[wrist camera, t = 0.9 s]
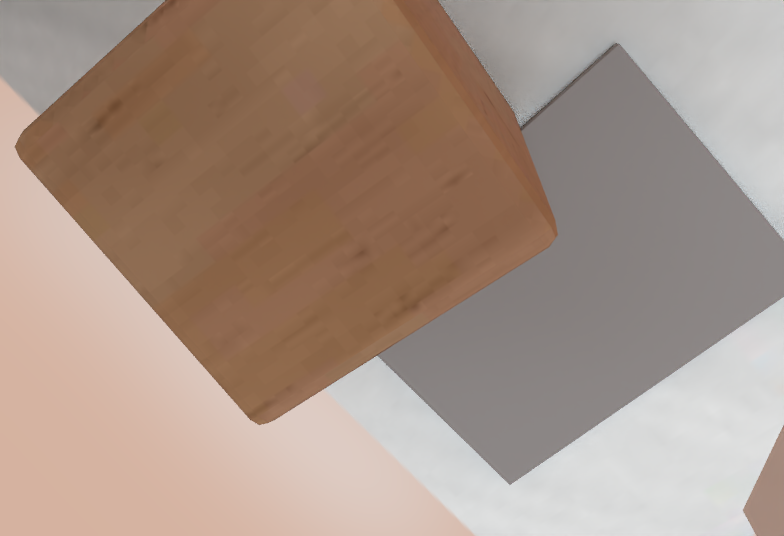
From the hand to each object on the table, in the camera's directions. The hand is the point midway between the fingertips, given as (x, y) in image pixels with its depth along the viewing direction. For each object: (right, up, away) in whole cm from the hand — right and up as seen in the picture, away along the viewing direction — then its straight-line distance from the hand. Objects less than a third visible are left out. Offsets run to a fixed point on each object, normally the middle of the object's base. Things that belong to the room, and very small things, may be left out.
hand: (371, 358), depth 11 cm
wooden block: (0, +10, +25) cm, 27 cm away
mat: (+9, 0, +27) cm, 29 cm away
